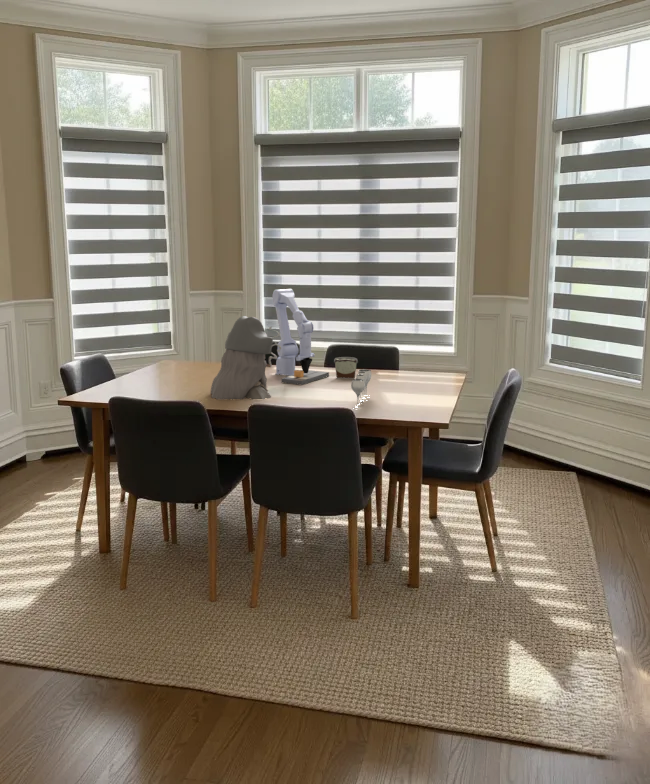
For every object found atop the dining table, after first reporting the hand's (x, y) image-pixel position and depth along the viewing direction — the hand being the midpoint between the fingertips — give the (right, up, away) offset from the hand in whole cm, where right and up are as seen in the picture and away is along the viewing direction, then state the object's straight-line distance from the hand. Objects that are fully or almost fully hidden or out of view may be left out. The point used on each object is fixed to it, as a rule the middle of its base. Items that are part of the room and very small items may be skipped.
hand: (305, 373), depth 369 cm
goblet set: (+26, -14, -50) cm, 58 cm away
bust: (-28, -10, -31) cm, 43 cm away
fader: (-3, -2, -5) cm, 6 cm away
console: (0, -3, +1) cm, 3 cm away
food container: (+21, -2, +6) cm, 22 cm away
